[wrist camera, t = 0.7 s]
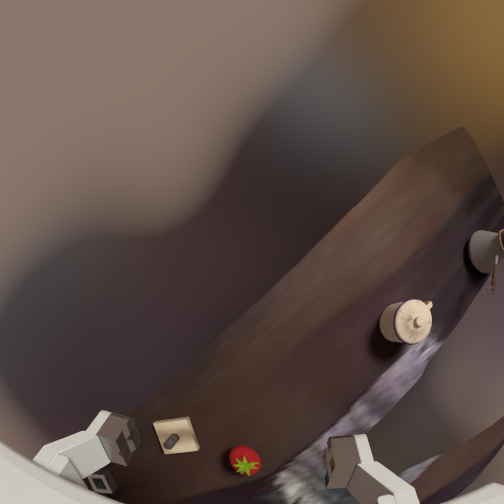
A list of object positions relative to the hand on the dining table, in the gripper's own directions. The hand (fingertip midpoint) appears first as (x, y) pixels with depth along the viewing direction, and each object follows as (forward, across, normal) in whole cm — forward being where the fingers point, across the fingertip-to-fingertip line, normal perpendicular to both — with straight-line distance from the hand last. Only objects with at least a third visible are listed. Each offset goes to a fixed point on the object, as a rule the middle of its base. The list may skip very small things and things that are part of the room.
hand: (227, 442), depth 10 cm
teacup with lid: (+49, +30, -18) cm, 60 cm away
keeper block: (+35, -18, -42) cm, 58 cm away
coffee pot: (+55, +54, -7) cm, 77 cm away
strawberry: (+35, -3, -44) cm, 56 cm away
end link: (+26, -39, -59) cm, 75 cm away
